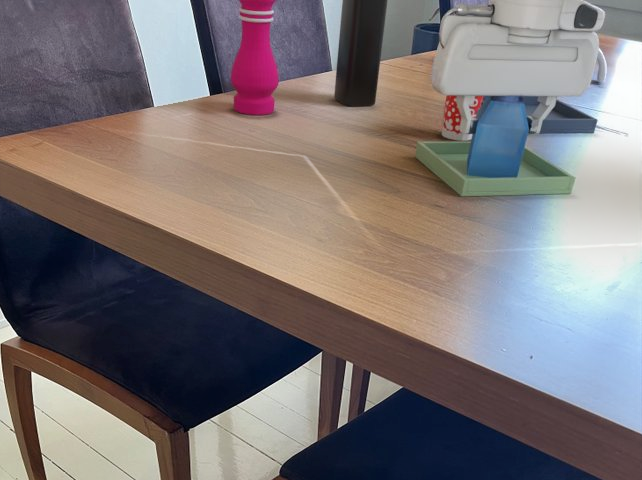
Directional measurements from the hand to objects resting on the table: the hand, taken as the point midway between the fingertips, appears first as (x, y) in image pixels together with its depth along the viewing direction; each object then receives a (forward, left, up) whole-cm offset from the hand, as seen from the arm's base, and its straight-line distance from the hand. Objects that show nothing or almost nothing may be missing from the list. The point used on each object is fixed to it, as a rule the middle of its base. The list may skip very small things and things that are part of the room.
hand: (499, 132), depth 93 cm
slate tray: (-20, -26, -5) cm, 33 cm away
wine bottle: (+7, -36, -5) cm, 37 cm away
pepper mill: (+25, -31, -5) cm, 40 cm away
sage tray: (0, 0, -5) cm, 5 cm away
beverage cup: (-3, -17, -5) cm, 18 cm away
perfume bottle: (0, 0, -5) cm, 5 cm away
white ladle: (-41, -58, -5) cm, 71 cm away
